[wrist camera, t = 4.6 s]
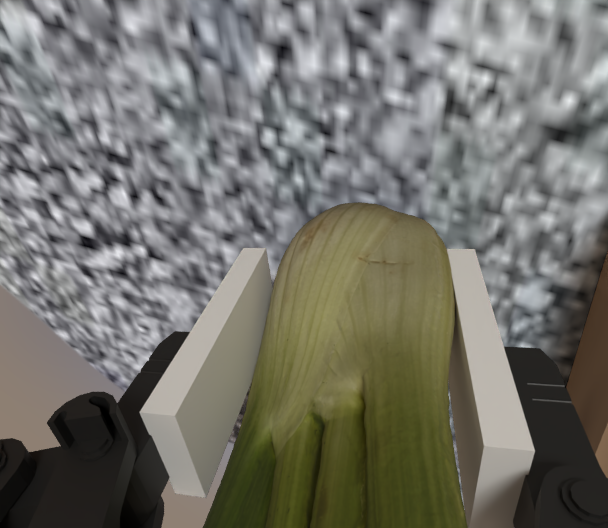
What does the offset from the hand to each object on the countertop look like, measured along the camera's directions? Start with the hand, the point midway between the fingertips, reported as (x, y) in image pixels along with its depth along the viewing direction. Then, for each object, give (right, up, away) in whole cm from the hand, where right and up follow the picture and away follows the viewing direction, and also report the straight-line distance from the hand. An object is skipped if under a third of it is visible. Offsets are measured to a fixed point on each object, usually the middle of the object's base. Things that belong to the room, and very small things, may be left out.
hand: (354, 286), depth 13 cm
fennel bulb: (+1, +1, +2) cm, 3 cm away
